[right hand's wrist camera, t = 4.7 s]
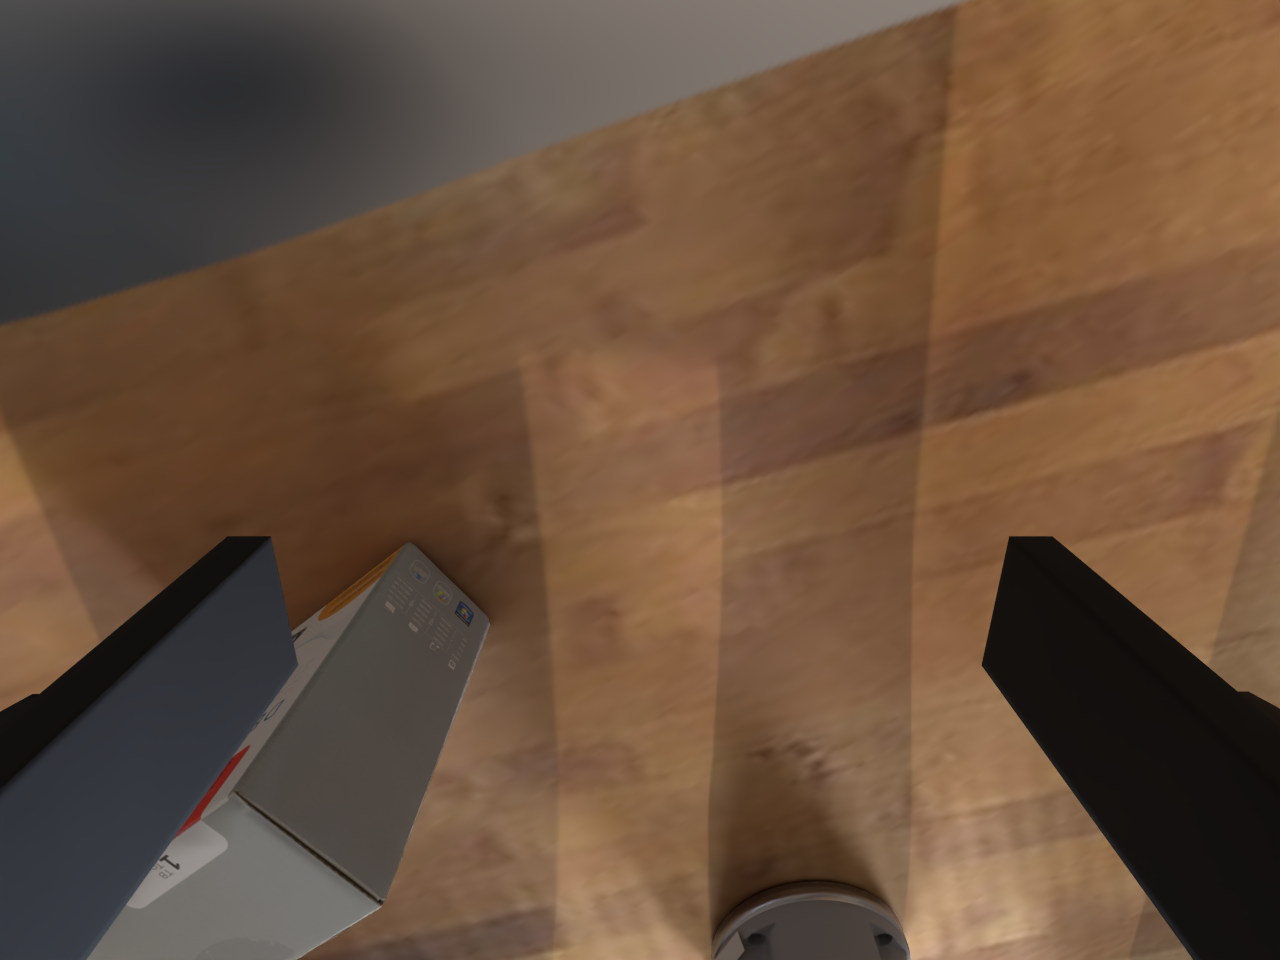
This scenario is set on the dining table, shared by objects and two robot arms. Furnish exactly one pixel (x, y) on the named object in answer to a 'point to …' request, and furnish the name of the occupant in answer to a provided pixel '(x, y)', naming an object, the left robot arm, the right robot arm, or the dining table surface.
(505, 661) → the dining table surface
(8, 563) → the dining table surface
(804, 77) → the dining table surface
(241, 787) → the hard drive box
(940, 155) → the dining table surface
